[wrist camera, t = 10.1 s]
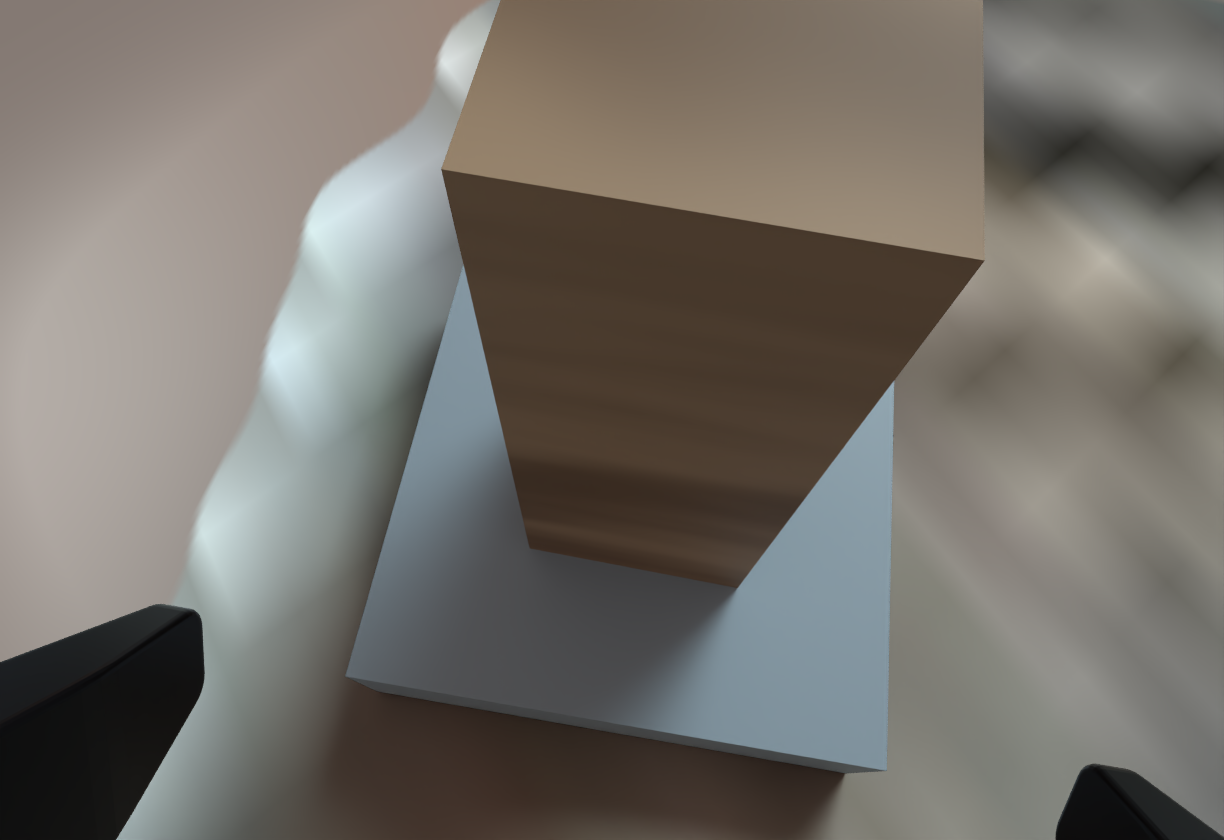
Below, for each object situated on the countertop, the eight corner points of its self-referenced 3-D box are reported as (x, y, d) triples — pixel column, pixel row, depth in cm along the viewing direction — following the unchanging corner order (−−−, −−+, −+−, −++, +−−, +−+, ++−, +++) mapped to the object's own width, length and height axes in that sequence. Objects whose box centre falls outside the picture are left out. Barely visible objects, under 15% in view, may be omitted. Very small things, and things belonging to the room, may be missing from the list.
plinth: (846, 773, 20) (886, 770, 18) (376, 691, 21) (345, 676, 18) (861, 357, 25) (895, 304, 23) (482, 298, 26) (470, 240, 23)
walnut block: (737, 587, 19) (984, 261, 7) (529, 548, 19) (441, 169, 8) (760, 400, 21) (982, -95, 9) (572, 366, 21) (555, -157, 10)
